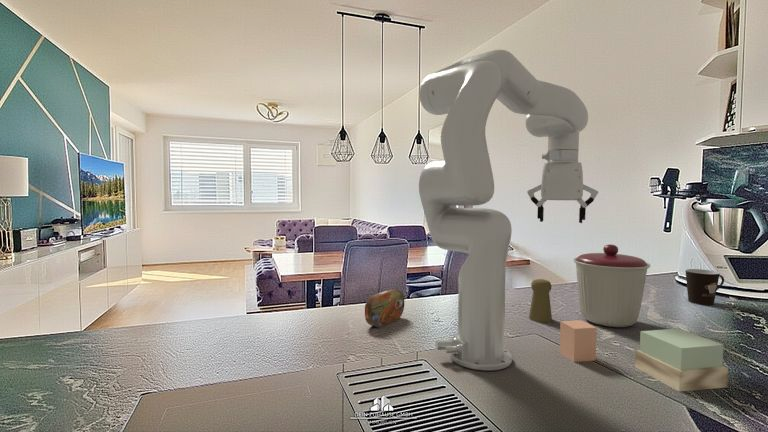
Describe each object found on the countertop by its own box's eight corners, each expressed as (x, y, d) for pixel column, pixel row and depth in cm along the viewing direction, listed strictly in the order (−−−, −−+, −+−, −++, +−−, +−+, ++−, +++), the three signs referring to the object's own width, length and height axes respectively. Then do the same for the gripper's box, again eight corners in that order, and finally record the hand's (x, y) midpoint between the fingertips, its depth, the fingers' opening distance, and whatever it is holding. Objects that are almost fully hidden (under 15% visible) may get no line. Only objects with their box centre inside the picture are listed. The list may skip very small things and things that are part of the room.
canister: (557, 315, 116) (559, 242, 115) (604, 309, 122) (606, 239, 121) (612, 336, 99) (615, 250, 98) (664, 328, 105) (667, 247, 104)
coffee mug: (690, 305, 127) (692, 273, 127) (679, 298, 135) (680, 268, 135) (735, 308, 124) (737, 275, 123) (721, 300, 132) (723, 270, 131)
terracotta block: (573, 362, 84) (574, 328, 84) (559, 352, 89) (560, 321, 89) (595, 360, 85) (596, 327, 85) (580, 351, 90) (581, 320, 90)
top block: (680, 370, 72) (681, 348, 72) (639, 351, 81) (640, 331, 81) (722, 366, 74) (723, 344, 74) (677, 347, 83) (678, 328, 83)
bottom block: (678, 393, 72) (679, 371, 72) (635, 369, 82) (636, 350, 82) (727, 389, 74) (728, 367, 73) (678, 366, 83) (679, 347, 83)
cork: (548, 316, 116) (549, 277, 115) (555, 322, 110) (556, 282, 109) (526, 315, 116) (527, 277, 116) (532, 322, 110) (532, 281, 110)
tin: (371, 331, 103) (371, 298, 103) (362, 328, 105) (362, 296, 104) (405, 316, 115) (405, 287, 115) (396, 314, 117) (396, 285, 116)
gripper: (527, 157, 109) (525, 221, 110) (600, 155, 102) (597, 224, 102) (529, 160, 116) (528, 220, 116) (598, 158, 108) (596, 222, 109)
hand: (560, 222), depth 109 cm, fingers open, 9 cm apart
